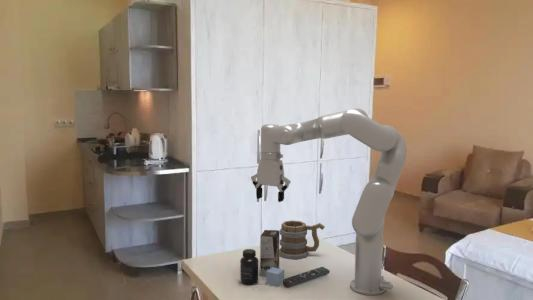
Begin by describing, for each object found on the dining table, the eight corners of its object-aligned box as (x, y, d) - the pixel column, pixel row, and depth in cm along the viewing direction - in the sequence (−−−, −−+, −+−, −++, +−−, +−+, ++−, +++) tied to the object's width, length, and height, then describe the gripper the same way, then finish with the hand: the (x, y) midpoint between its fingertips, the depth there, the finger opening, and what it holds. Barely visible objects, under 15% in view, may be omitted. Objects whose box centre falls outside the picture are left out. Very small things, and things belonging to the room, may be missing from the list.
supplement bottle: (262, 281, 166) (262, 250, 164) (249, 287, 161) (249, 255, 159) (249, 276, 170) (249, 246, 169) (236, 281, 165) (236, 251, 164)
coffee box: (275, 277, 170) (276, 237, 168) (259, 275, 171) (259, 235, 169) (279, 268, 178) (280, 230, 177) (264, 267, 180) (264, 229, 178)
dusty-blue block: (284, 282, 165) (284, 269, 164) (277, 287, 161) (277, 274, 160) (272, 279, 168) (272, 267, 167) (266, 284, 163) (266, 271, 163)
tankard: (275, 257, 191) (276, 224, 189) (283, 248, 203) (283, 216, 201) (321, 262, 185) (321, 228, 183) (326, 252, 197) (326, 220, 195)
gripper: (294, 157, 168) (294, 200, 170) (256, 153, 177) (256, 195, 179) (285, 159, 162) (284, 204, 164) (246, 155, 170) (246, 198, 172)
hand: (270, 199), depth 171 cm, fingers open, 9 cm apart
